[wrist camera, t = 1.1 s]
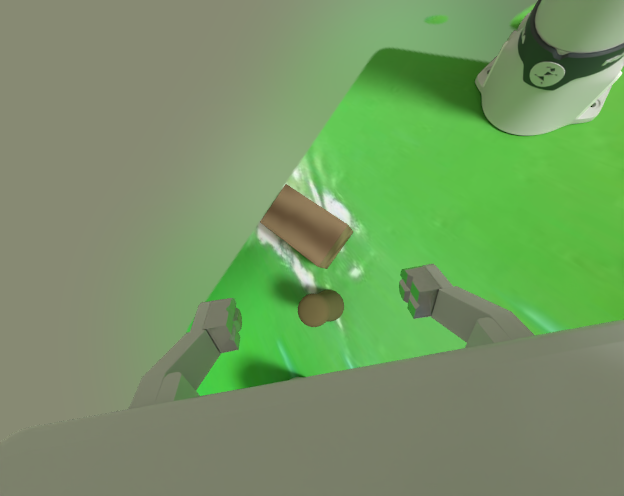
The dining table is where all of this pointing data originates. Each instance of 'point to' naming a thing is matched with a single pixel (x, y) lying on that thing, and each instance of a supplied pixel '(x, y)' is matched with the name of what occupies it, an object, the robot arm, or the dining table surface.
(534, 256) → the dining table surface
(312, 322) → the cork
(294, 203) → the walnut block
